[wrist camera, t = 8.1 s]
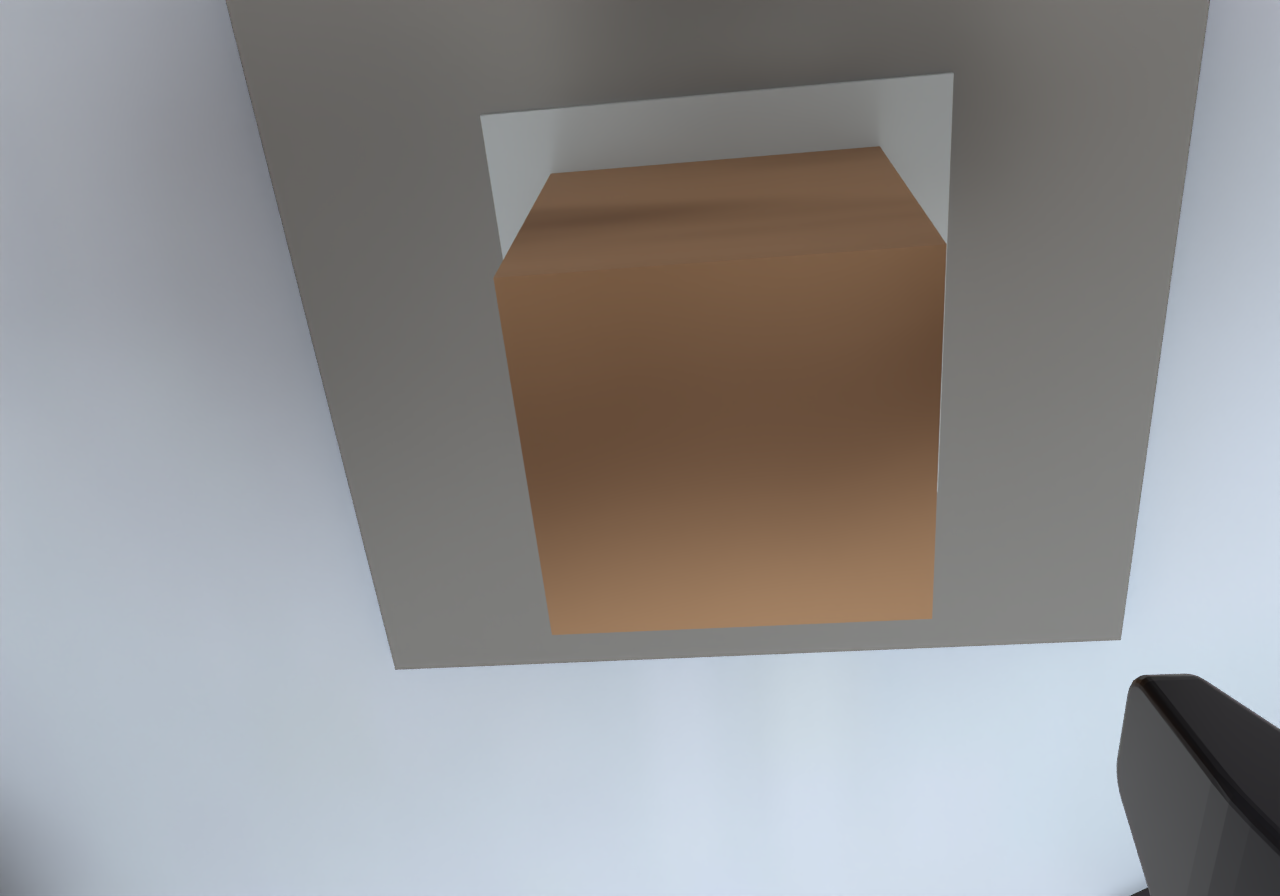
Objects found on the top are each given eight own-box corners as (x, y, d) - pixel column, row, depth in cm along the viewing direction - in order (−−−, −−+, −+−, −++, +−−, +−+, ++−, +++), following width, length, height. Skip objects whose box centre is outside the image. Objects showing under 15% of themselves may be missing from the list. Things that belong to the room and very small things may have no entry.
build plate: (1113, 626, 20) (1122, 643, 20) (400, 656, 22) (393, 672, 21) (1229, -237, 14) (1246, -241, 13) (206, -122, 15) (192, -121, 15)
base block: (876, 442, 18) (932, 619, 14) (588, 458, 19) (551, 634, 14) (880, 146, 16) (946, 244, 12) (550, 173, 16) (493, 278, 12)
